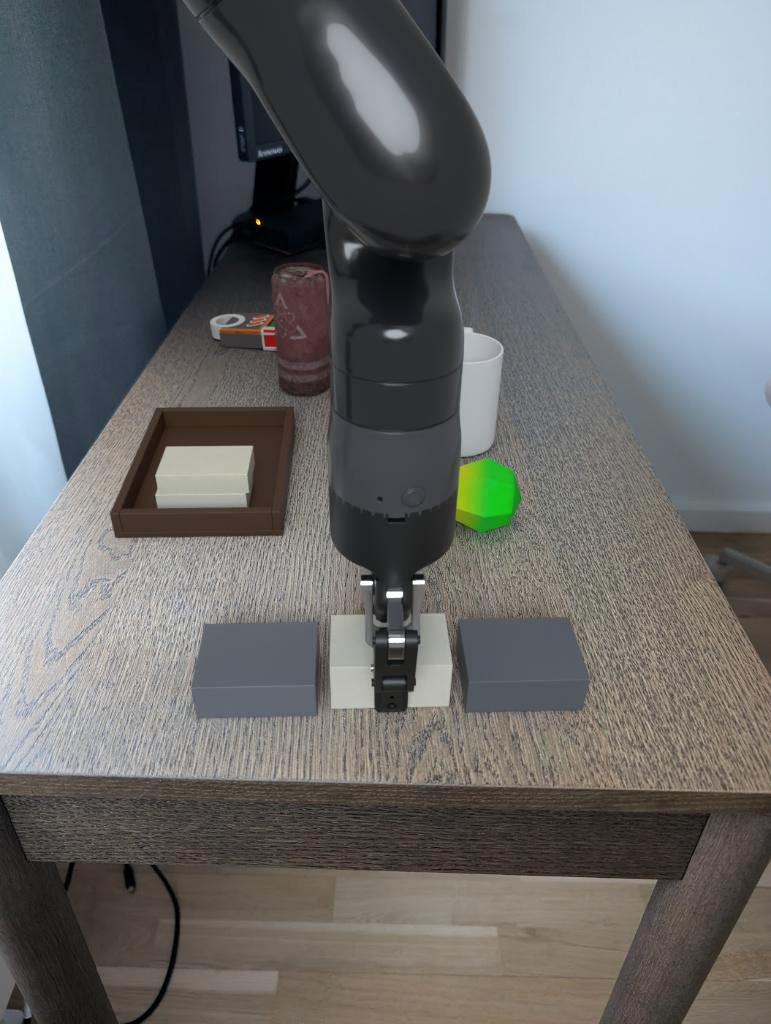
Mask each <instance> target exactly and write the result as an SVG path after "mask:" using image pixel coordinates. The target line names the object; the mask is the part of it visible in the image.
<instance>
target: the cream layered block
mask: <svg viewBox="0 0 771 1024" xmlns="http://www.w3.org/2000/svg"><path fill="white" fill-rule="evenodd" d="M254 465H255V460H254V450H253V446H178V447H166V449H165V451H164V454H163V457H162V459H161V462H160V465H159V467H158V470H157V472H156V475H155V477H156V482H157V487H158V489H157V492H156V495H155V496H156V502H157V507H158V508H223V507H249V503H250V498H251V492H252V487H253V471H254Z"/></svg>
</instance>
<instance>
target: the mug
mask: <svg viewBox="0 0 771 1024" xmlns="http://www.w3.org/2000/svg"><path fill="white" fill-rule="evenodd" d="M504 352H505V350H504V345H503V344H502V343H501V342H500V341H499V340H497V339H496V338H493V337H491V336H488V335H486V334H483V333H479V332H474V328H472V327H470V326H464V358H463V359H464V360H463V373H462V386H461V399H460V423H461V458H467V457H474V456H478V455H480V454H483V453H485V452H487V451H488V450H490V448H491V447H492V446H493V445H494V442H495V439H496V429H497V428H496V427H497V417H498V409H499V399H500V390H501V389H500V388H501V380H502V371H503V370H502V369H503V361H504Z"/></svg>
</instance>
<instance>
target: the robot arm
mask: <svg viewBox="0 0 771 1024" xmlns="http://www.w3.org/2000/svg"><path fill="white" fill-rule="evenodd" d="M181 2H182V3H183V5H184V6H185V7H186V9H187V10H188V11H189V13H190V14H191V16H192V17H193V18H194V19H199V20H198V25H199V26H200V27H201V28H202V30H203V31H204V32H205V34H206V35H207V36H208V38H209V39H210V40H211V41H212V42H213V44H214V45H215V46H216V47H217V48H218V49H219V50H220V52H222V54H223V55H224V56H225V57H226V58H227V59H228V60H229V62H230V63H231V64H232V65H233V66H234V67H235V68H236V69H237V71H238V72H239V73H240V74H241V76H242V77H243V78H244V79H245V80H246V82H247V83H248V85H249V86H250V87H251V89H252V90H253V92H254V93H255V95H256V96H257V99H258V100H259V101H260V103H261V105H262V106H263V109H264V110H265V111H266V113H267V115H268V116H269V118H270V120H271V122H272V123H273V124H274V126H275V127H276V129H277V131H278V133H279V134H280V136H281V138H282V139H283V141H284V142H285V144H286V145H287V146H288V148H289V150H290V151H291V153H292V154H293V156H294V157H295V159H296V161H297V162H298V164H299V166H300V167H301V168H302V170H303V171H304V173H305V174H306V176H307V177H308V178H309V181H310V182H311V184H312V185H313V187H314V188H315V189H316V191H317V192H318V194H319V195H320V197H321V204H322V217H323V229H324V238H325V249H326V258H327V268H328V278H329V287H330V319H329V320H330V321H329V371H330V384H329V395H330V396H329V397H330V399H329V400H330V401H329V404H330V405H329V417H328V427H327V433H326V434H327V435H326V436H327V437H326V446H327V447H326V448H327V449H326V450H327V478H328V479H327V481H328V483H327V484H328V505H329V506H328V507H329V508H328V509H329V532H330V538H331V541H332V544H333V546H334V547H335V549H336V550H337V552H338V553H339V554H340V555H341V556H343V557H344V558H345V559H346V560H348V561H349V562H351V563H353V564H354V565H356V566H359V571H360V577H359V578H360V600H361V602H362V603H363V605H364V614H365V641H366V643H367V644H368V645H369V646H371V647H372V648H373V664H371V672H373V678H374V679H373V678H372V687H374V708H373V709H374V711H376V712H377V713H381V714H382V713H386V714H387V713H403V712H405V711H406V710H408V708H409V707H408V692H414V686H416V678H415V675H416V665H417V655H418V644H420V614H421V606H422V603H423V602H424V600H425V598H426V597H425V596H426V577H425V572H424V571H423V572H422V569H424V568H426V567H428V566H431V565H433V564H434V563H437V562H438V561H439V560H440V559H441V558H443V557H444V555H446V554H447V552H449V550H450V549H451V547H452V545H453V542H454V538H455V531H456V521H457V520H456V507H457V495H458V483H459V470H460V466H461V458H462V457H461V423H460V399H461V386H462V373H463V360H464V359H463V358H464V327H465V325H464V317H463V316H464V315H463V311H462V309H461V305H460V302H459V298H458V296H457V292H456V287H455V282H454V261H455V249H457V248H459V246H461V245H462V244H463V243H464V242H465V241H466V240H467V239H468V238H469V237H470V236H471V235H472V234H473V232H474V231H475V230H476V228H477V226H478V225H479V224H480V221H481V220H482V218H483V216H484V213H485V211H486V208H487V206H488V202H489V199H490V195H491V189H492V182H493V166H492V165H493V164H492V155H491V150H490V146H489V143H488V140H487V137H486V133H485V131H484V128H483V126H482V124H481V122H480V120H479V118H478V116H477V114H476V112H475V110H474V109H473V107H472V106H471V104H470V103H469V101H468V99H467V96H466V95H465V94H464V92H463V91H462V89H461V88H460V86H459V85H458V83H457V81H456V79H455V78H454V76H453V75H452V73H451V72H450V71H449V69H448V67H447V66H446V65H445V63H444V62H443V60H442V59H441V57H440V56H439V54H438V53H437V51H436V50H435V48H434V47H433V45H432V43H430V41H429V40H428V38H427V37H426V36H425V34H424V32H423V31H422V30H421V29H420V27H419V26H418V24H417V23H416V21H415V20H414V19H413V17H412V15H411V14H410V13H409V11H408V10H407V9H406V7H405V6H404V4H403V3H402V1H401V0H181ZM373 614H375V617H376V620H378V621H379V622H382V623H387V627H377V626H376V625H375V624H374V623H373ZM410 614H411V621H410V623H409V624H408V625H407V626H405V627H404V621H406V620H407V619H408V618H409V615H410Z"/></svg>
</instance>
